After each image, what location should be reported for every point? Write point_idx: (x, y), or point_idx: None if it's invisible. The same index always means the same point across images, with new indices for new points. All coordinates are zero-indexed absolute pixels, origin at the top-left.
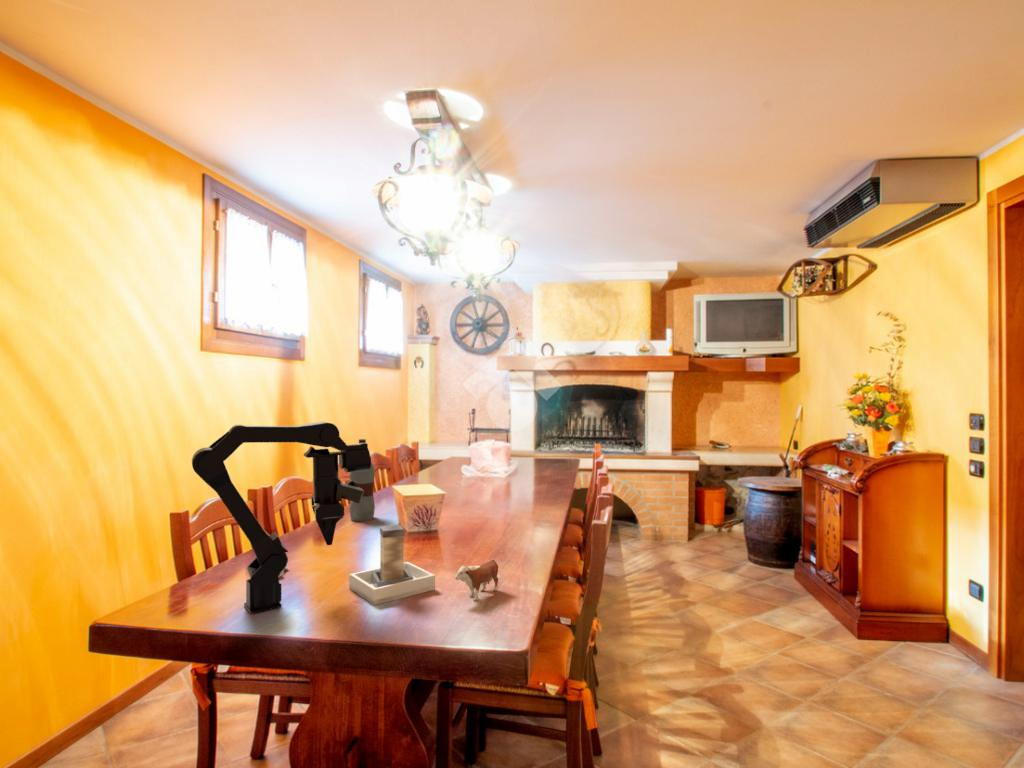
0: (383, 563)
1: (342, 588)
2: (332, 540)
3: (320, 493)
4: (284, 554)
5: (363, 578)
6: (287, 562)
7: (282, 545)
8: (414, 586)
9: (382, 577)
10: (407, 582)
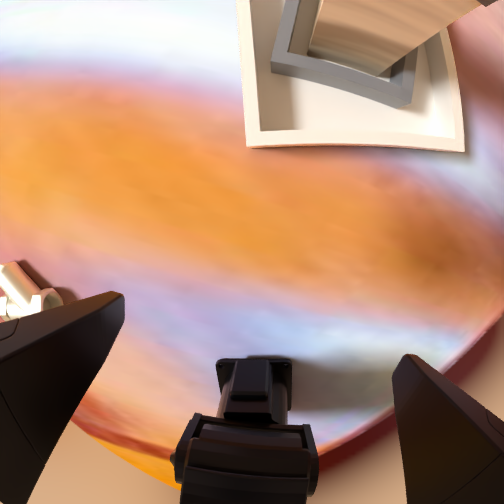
0: (411, 48)
1: (236, 168)
2: (433, 370)
3: None
4: (309, 477)
5: (258, 94)
6: (8, 267)
7: (263, 497)
8: None
9: (362, 58)
10: (447, 35)
